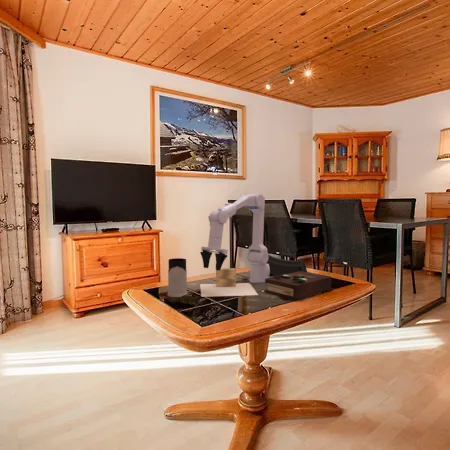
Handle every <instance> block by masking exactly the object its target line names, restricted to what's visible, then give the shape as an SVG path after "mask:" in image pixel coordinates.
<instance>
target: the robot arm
mask: <svg viewBox="0 0 450 450" xmlns="http://www.w3.org/2000/svg"><path fill="white" fill-rule="evenodd" d="M265 201H266V199H265V196H264V195H263V194H262V193H244V194H243V195H241V196H240V197H239V198H238V199H237V200H235V201H234V202H233V203H232V202H226V203H225V204H224V206H222V207H218V208H217V210H212V211H211V212H210V213H209V215H208V222H209V227H210V228H209V233H208V234H209V237H208V242H207V243H208V244H207V246H201V247H200V249H201V251H200V255H201V259H202V264H203V268H204V269H209V266H210V261H211V257H212V254H213V253H214V255H215V271H216V270H220V269H222V266H223V264H224V262H225V260H227V257H228V253H229V252H228V251H229V250H228V249H226V248H225V249H224V248H222V242H223V236H224V235H223V233H224V224H227V222H228V220H229V218H231V217H233V216H234V215H236V213H237V210H239V209H241V208H243V207H245V208H246V209H248V210H250V211H251V212H252V216H253V217H252V237H251V238H252V241H251V242H252V243H251V245H250V246H249V247H248V251H247V253H246V258H247V261H248V263H249V264H250V272H249V273H250V274H249V275H250V278H248V281H249V283H250V284H251V283H253V284H254V283H255V284H256V283H265V279H266V278H271V276H268V275H271V274H270V268H269V264H266V263H267V261H268V255H269V253H268V248H267V247H266V246H265V245H264V230H265V229H264V226H265V208H266V207H265V203H266V202H265Z"/></svg>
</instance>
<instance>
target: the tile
mask: <svg viewBox="0 0 450 450" xmlns="http://www.w3.org/2000/svg"><path fill="white" fill-rule="evenodd" d="M215 280H216V281H215V284H216V287H236V283H237V269H236V268H234V267H233V268H221V269H220V270H216V269H215Z"/></svg>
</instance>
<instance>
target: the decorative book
mask: <svg viewBox="0 0 450 450" xmlns="http://www.w3.org/2000/svg"><path fill="white" fill-rule="evenodd" d="M268 276H270V278H266V279H265V282H264V283H266V285H265V286H266V287H267V289H265V290H264V292H265V293H268V294H270V295H275V296H278V297H279V298H283V299H287V300H290V301H293V300H294V302H299V301H301V300H300V299H303V298H306V297H309V296H311V295H314V294H317V293H320V292H322V291H325V290H328V289H330V288H331V289H332V276H330V275H329V276H328V275H324V274H318V273H317V274H316V273H312V272H308V271H307V272H302V271H299V272H294V273H290V274H285V275H273V274H270V275H268ZM309 298H310V297H309ZM306 299H307V298H306ZM298 300H299V301H298ZM303 300H304V299H303Z"/></svg>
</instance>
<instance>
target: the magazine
mask: <svg viewBox="0 0 450 450" xmlns="http://www.w3.org/2000/svg"><path fill="white" fill-rule="evenodd" d="M266 264H269V268H270V275H272V276H273V275H285V274H290V273H294V272H299V271H302V272H307V273H308V270H307V266H306V263H305V261H304V259H300V260H290V259H289V260H288V259H283V258H277V257H275V256H273V255H270V254H268V261H267V263H266Z"/></svg>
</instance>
